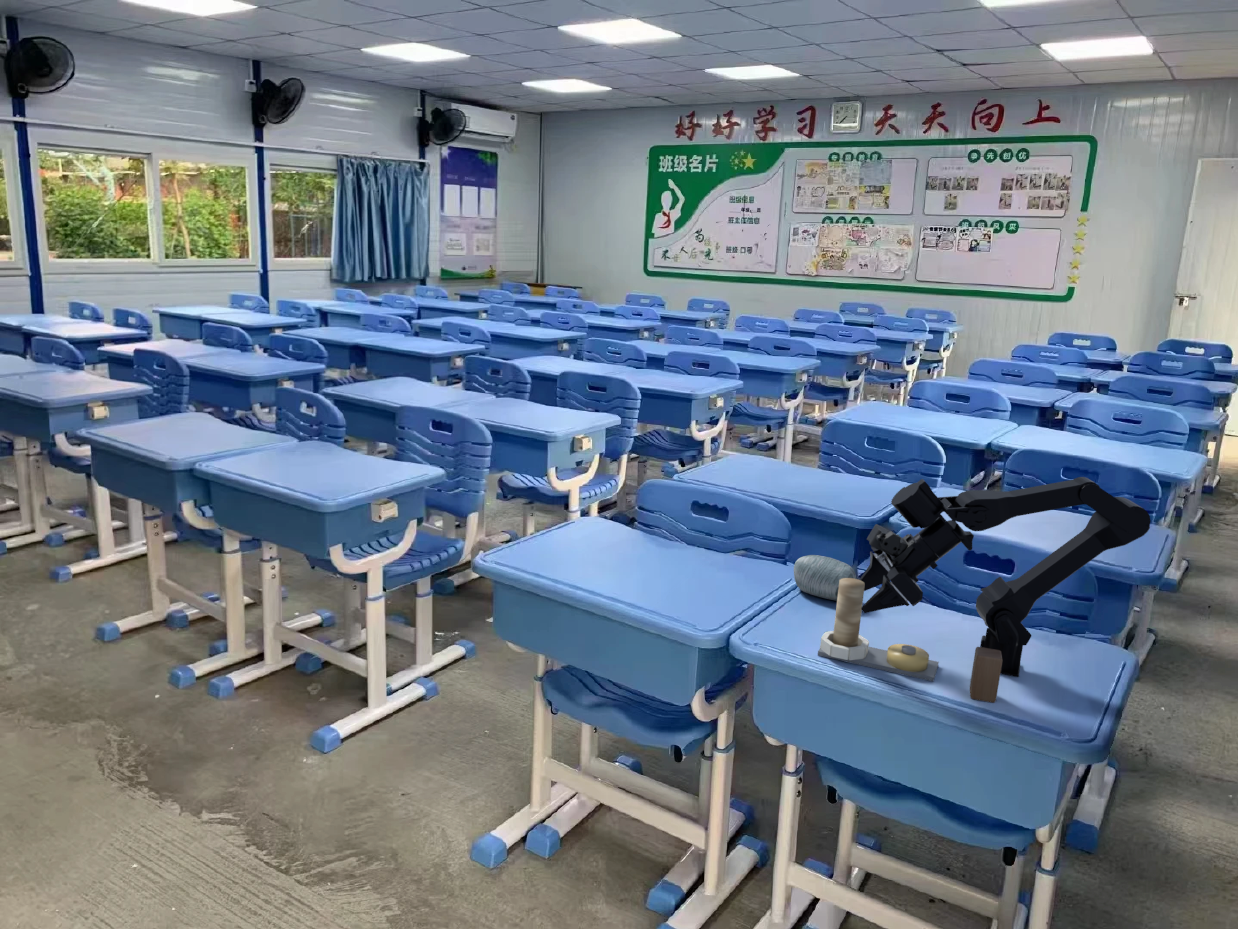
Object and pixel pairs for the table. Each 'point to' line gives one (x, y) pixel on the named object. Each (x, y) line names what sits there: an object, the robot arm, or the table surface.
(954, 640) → the table surface
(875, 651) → the board
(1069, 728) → the table surface
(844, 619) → the peg
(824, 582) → the grey streaked oval stone
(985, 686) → the wooden block
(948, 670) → the table surface
